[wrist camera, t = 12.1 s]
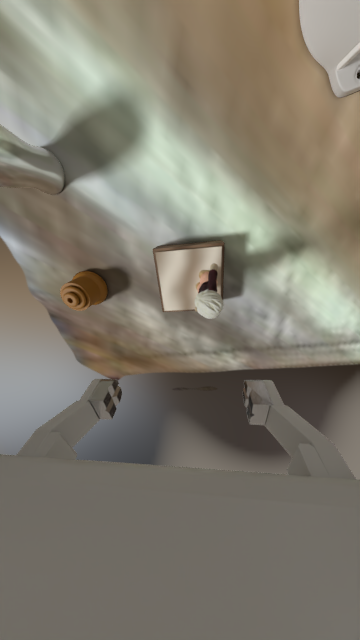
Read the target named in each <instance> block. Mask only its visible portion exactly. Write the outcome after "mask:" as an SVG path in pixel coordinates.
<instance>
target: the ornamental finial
mask: <svg viewBox="0 0 360 640" xmlns="http://www.w3.org/2000/svg"><path fill="white" fill-rule="evenodd" d="M107 293H108V290H107V286H106V283H105V282H104V280H103V279H102V278H101V277H100V276H99V275H97V274H96V273H93V272H90V271H82V272H79V273H77V274H76V275H75V276H74V277H73V279H72V281H70V282H68V283H66V284H64V285H63V286H62V288H61V291H60V294H61V297H62V300H63V301H64V303H65V304H66V305H67V306H69V307H70V308H72V309H74V310H78V311H82V310H85V309H87V308H88V307H90V306H91V305H96V304H100V303H102V302H103V301H104V300H105V299H106V297H107Z"/></svg>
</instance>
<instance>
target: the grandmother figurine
mask: <svg viewBox="0 0 360 640" xmlns="http://www.w3.org/2000/svg"><path fill="white" fill-rule="evenodd" d="M217 269H218V265H217V264H215V263H213V264H212V265H211V266H210V270H201V271H200V273H199V278H200V282H198V283H197V284H196V289H197V291H198V294H197V296H196V299H195V305H196V307H195V311H196V312H198V313H199V314H200V315H202V316H204V317H205V318H208V319H214V318H215V317H217V316H218V315H219V314H220V312H221V310H222V309H223V300H222V298H221V295H220V294H218V293H217V283H218V281H217V274H218V272H217Z"/></svg>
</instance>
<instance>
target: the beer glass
mask: <svg viewBox="0 0 360 640" xmlns="http://www.w3.org/2000/svg"><path fill="white" fill-rule="evenodd" d="M64 184H65V175H64V171H63V168H62V166H61V164H60V162H59V160H58V159H57V158H56V156H55V155H54V154H53V153H51V152H50V151H49V150H47V149H45V148H42V147H38V146H33V145H30V144H28V143H26V142H24V141H23V140H21V139H20V138H19V137H17V136H16V135H15V134H13V133H12V132H10V131H9V130H8V129H6V128H5V127H4V126H2V125H1V124H0V187H3V188H24V187H31V188H35V189H38V190H40V191H42V192H44V193H47V194H51V195H55V194H58V193H60V192H61V191H62V189H63V187H64Z"/></svg>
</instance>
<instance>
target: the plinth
mask: <svg viewBox="0 0 360 640" xmlns="http://www.w3.org/2000/svg"><path fill="white" fill-rule="evenodd" d="M153 254H154V260H155V267H156V273H157V279H158V285H159V291H160V298H161V304H162V310H163V312H172V311H193V310H195V307H196V305H195V299H196V296H197V294H198V291H197V289H196V284H197V283H198V282H200V278H199V273H200V271H201V270H210V266H211V265H212V264H213V263H215V264H217V265H218V269H217V272H218V274H217V281H218V283H217V293H218V294H220V295H221V298H222V300H223V277H224V242H223V241H221V240H218V241H208V242H198V243H187V244H177V245H167V246H158V247H156V248H154V249H153Z"/></svg>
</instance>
